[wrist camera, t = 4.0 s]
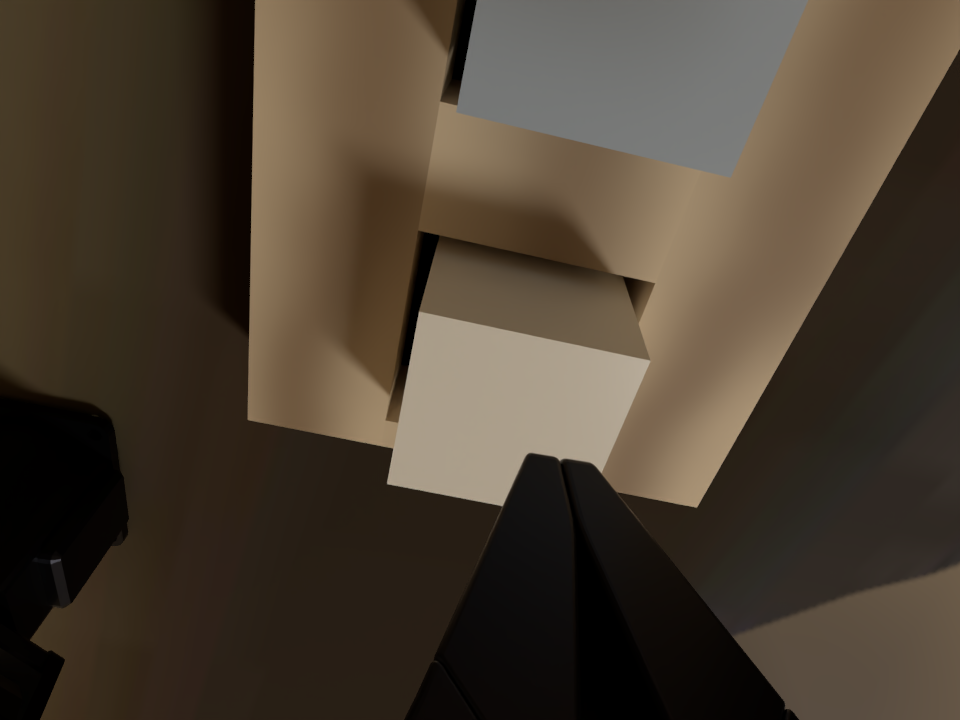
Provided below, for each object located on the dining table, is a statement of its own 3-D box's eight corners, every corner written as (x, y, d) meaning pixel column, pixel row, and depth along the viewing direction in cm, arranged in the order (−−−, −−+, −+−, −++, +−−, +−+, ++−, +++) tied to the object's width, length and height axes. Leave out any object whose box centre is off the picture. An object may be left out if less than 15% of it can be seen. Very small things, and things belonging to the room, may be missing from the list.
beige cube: (414, 372, 20) (387, 484, 16) (442, 224, 17) (418, 311, 13) (567, 403, 20) (580, 520, 16) (618, 263, 18) (650, 360, 13)
